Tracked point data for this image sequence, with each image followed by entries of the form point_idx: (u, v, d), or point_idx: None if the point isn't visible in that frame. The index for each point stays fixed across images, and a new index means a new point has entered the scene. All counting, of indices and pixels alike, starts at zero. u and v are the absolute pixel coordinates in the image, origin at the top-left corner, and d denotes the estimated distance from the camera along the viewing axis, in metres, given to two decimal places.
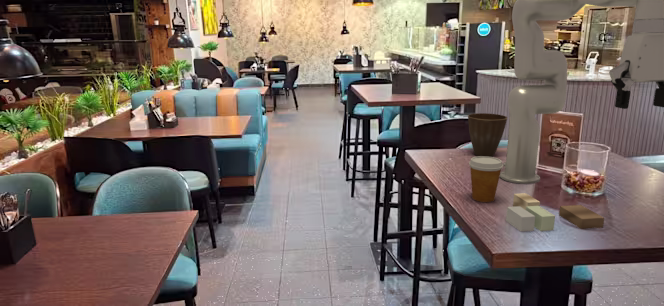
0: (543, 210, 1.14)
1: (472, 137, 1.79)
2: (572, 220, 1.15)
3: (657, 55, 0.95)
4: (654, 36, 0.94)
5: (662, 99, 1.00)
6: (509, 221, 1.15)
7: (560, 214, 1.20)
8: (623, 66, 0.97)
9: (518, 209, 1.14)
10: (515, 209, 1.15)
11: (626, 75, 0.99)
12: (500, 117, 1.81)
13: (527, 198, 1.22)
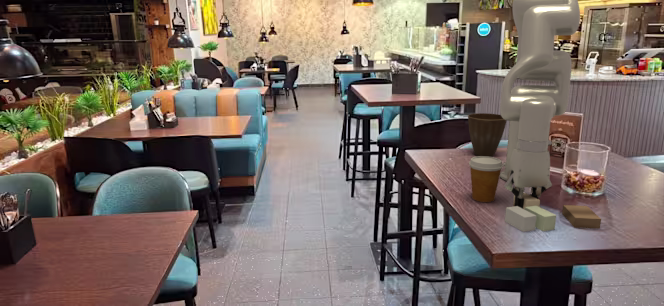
0: (543, 210, 1.14)
1: (472, 137, 1.79)
2: (569, 219, 1.15)
3: (534, 168, 1.18)
4: (530, 154, 1.17)
5: None
6: (509, 222, 1.15)
7: (562, 213, 1.20)
8: (511, 180, 1.20)
9: (517, 209, 1.14)
10: (514, 209, 1.14)
11: None
12: (500, 117, 1.81)
13: (527, 197, 1.22)
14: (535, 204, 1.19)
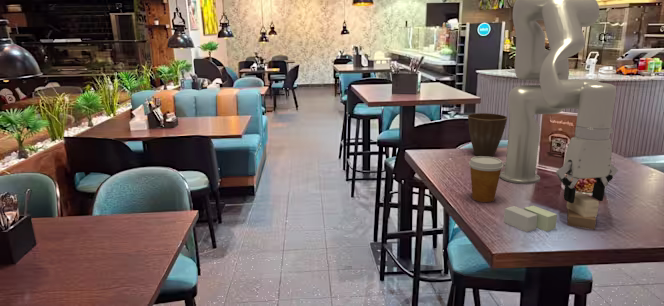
0: (542, 209, 1.14)
1: (472, 137, 1.79)
2: (567, 218, 1.16)
3: (595, 157, 1.09)
4: (592, 142, 1.08)
5: (599, 194, 1.14)
6: (509, 222, 1.15)
7: (567, 212, 1.21)
8: (567, 167, 1.11)
9: (517, 209, 1.14)
10: (514, 209, 1.14)
11: (570, 171, 1.13)
12: (500, 117, 1.81)
13: (583, 198, 1.14)
14: (593, 206, 1.12)
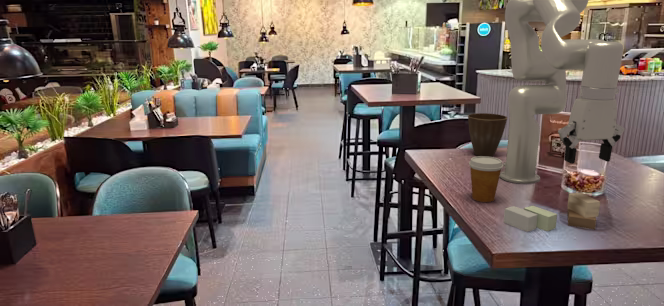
0: (542, 209, 1.14)
1: (472, 137, 1.79)
2: None
3: (599, 118, 1.07)
4: (597, 102, 1.06)
5: (606, 154, 1.12)
6: (509, 222, 1.15)
7: None
8: (570, 127, 1.09)
9: (517, 210, 1.14)
10: (513, 209, 1.14)
11: (574, 133, 1.11)
12: (500, 117, 1.81)
13: (585, 198, 1.14)
14: (595, 206, 1.12)
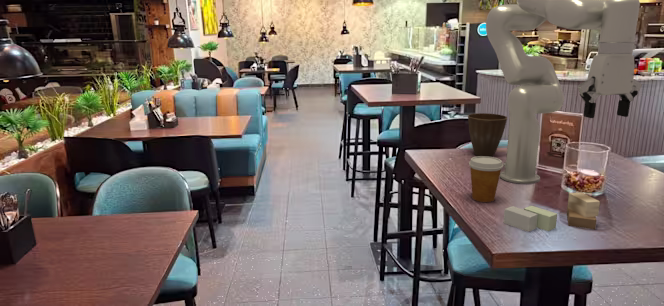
0: (541, 209, 1.14)
1: (472, 137, 1.79)
2: (567, 218, 1.16)
3: (618, 72, 1.11)
4: (615, 56, 1.10)
5: (624, 110, 1.16)
6: (509, 223, 1.14)
7: None
8: (589, 82, 1.13)
9: (516, 210, 1.14)
10: (513, 210, 1.14)
11: (593, 89, 1.15)
12: (500, 117, 1.81)
13: (584, 198, 1.14)
14: (594, 206, 1.12)
